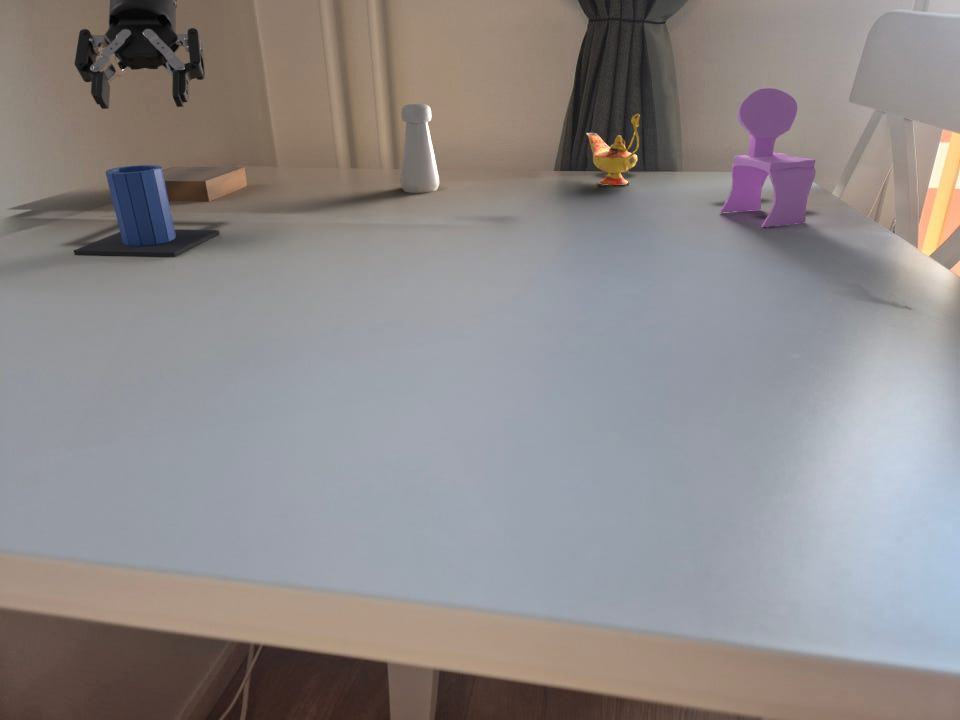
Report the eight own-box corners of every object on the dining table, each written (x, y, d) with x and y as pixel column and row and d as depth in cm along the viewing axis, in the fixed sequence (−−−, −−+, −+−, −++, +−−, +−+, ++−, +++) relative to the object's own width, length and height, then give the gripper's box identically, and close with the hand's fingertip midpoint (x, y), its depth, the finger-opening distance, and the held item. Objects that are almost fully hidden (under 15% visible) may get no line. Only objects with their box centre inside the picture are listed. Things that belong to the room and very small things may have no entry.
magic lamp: (604, 171, 118) (608, 104, 113) (655, 190, 102) (662, 112, 98) (567, 174, 116) (570, 106, 112) (614, 193, 101) (619, 114, 96)
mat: (74, 254, 75) (73, 250, 75) (128, 232, 84) (127, 228, 84) (174, 257, 73) (173, 252, 73) (219, 234, 82) (218, 230, 82)
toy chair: (758, 229, 80) (779, 92, 73) (712, 214, 87) (727, 89, 81) (815, 223, 82) (840, 89, 76) (765, 208, 89) (784, 86, 83)
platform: (132, 209, 97) (125, 180, 95) (177, 192, 108) (172, 166, 106) (210, 209, 95) (205, 181, 94) (248, 193, 106) (244, 167, 104)
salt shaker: (430, 202, 97) (425, 106, 92) (394, 200, 99) (387, 105, 93) (446, 194, 102) (442, 102, 97) (411, 192, 104) (406, 102, 98)
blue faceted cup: (112, 245, 76) (94, 173, 73) (141, 233, 81) (126, 165, 78) (158, 246, 76) (142, 173, 72) (185, 234, 81) (171, 165, 77)
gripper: (70, -25, 82) (62, 81, 76) (194, -25, 84) (194, 78, 79) (95, 25, 89) (89, 126, 83) (209, 24, 91) (210, 122, 86)
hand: (140, 103), depth 81 cm, fingers open, 8 cm apart
